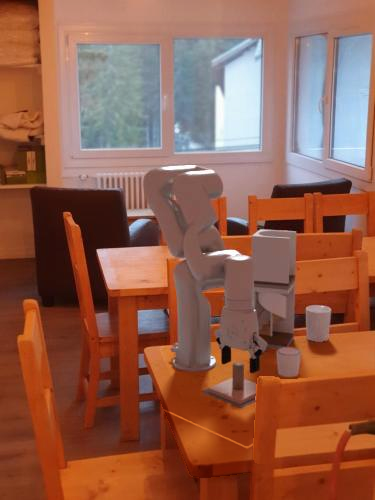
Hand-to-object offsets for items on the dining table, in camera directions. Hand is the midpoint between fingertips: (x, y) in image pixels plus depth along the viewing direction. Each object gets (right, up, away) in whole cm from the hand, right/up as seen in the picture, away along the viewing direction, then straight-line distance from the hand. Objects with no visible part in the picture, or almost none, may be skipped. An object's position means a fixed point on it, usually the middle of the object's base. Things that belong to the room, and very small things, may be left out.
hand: (240, 367), depth 183 cm
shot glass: (+14, -5, +14) cm, 21 cm away
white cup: (+28, +2, +42) cm, 50 cm away
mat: (0, -7, +2) cm, 8 cm away
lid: (0, -7, +2) cm, 7 cm away
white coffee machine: (+13, +1, +39) cm, 41 cm away
